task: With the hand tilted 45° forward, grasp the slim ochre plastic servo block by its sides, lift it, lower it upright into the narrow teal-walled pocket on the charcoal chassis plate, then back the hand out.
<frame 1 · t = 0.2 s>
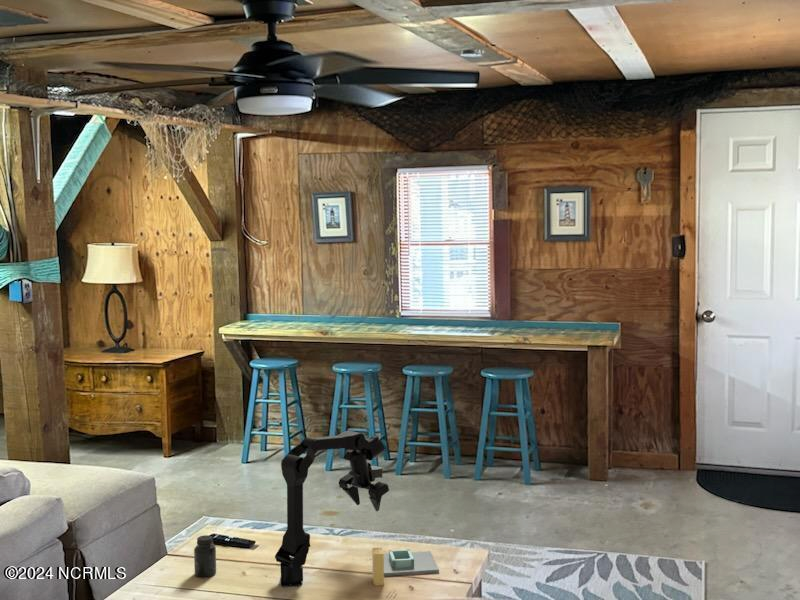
hand: (368, 507, 303), 15 cm above the table, tool pointing down, fingers open, 9 cm apart
supplement bottle: (205, 574, 287), on the table
servo block: (378, 581, 279), on the table
chassis plate: (401, 565, 292), on the table
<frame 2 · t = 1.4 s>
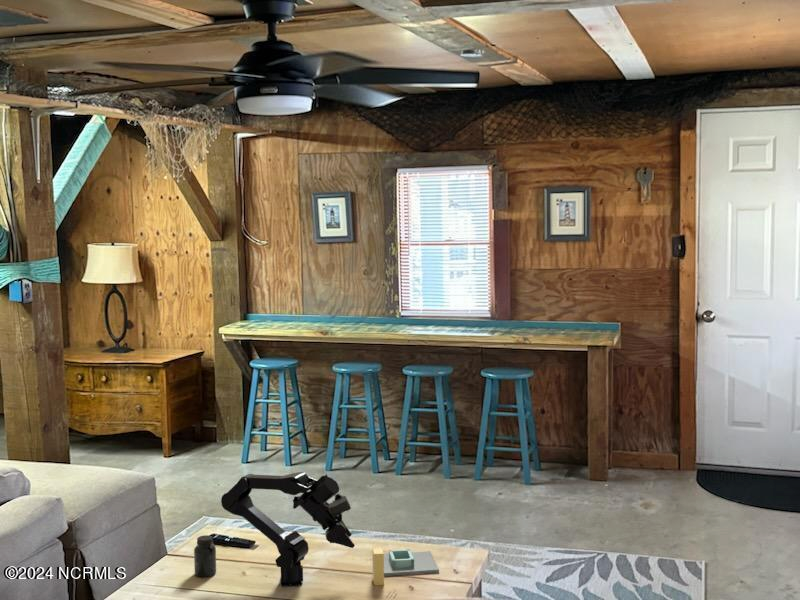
hand: (352, 541, 277), 13 cm above the table, tool tilted 45°, fingers open, 9 cm apart
nothing on the table moved.
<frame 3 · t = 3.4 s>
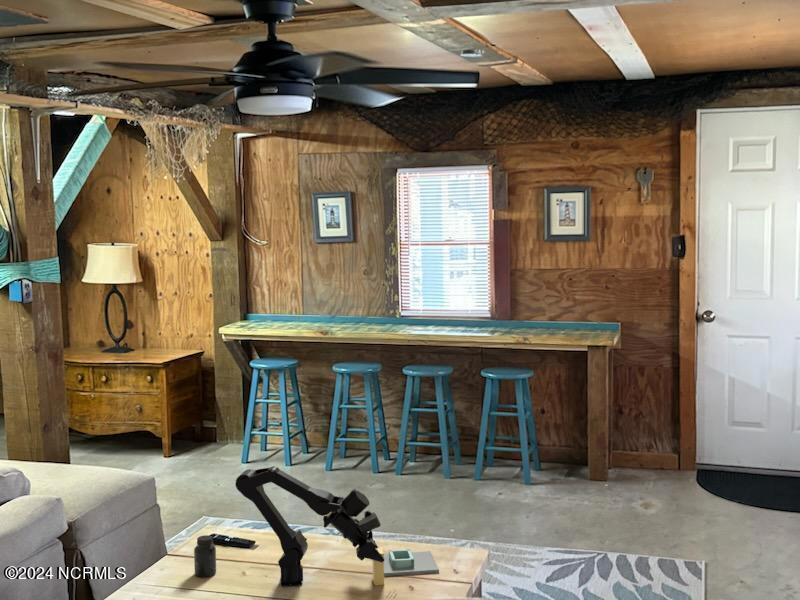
hand: (382, 557, 279), 8 cm above the table, tool tilted 45°, fingers closed on servo block, 5 cm apart
servo block: (378, 581, 279), on the table, touching gripper
everything else where it was.
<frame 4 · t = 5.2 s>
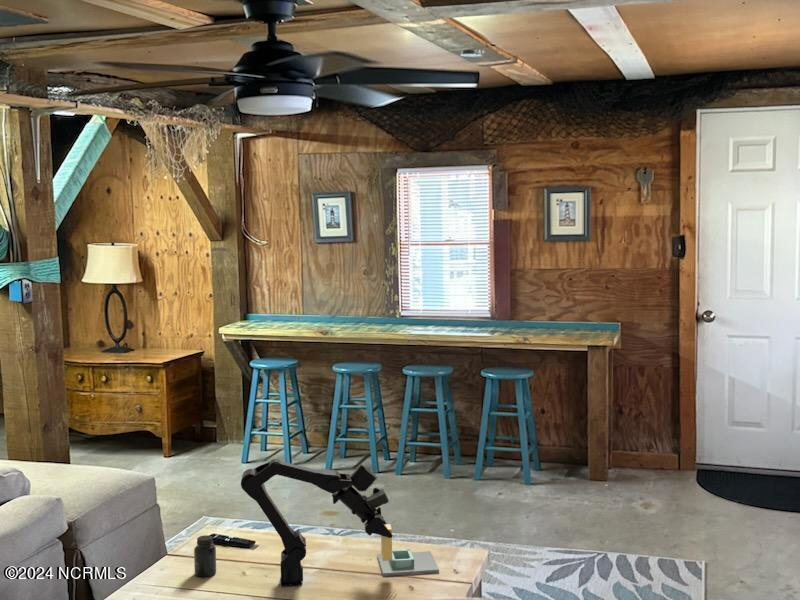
hand: (390, 533, 282), 14 cm above the table, tool tilted 45°, fingers closed on servo block, 5 cm apart
servo block: (386, 557, 283), point 6 cm above the table, touching gripper
everything else where it was.
when the fingers open (10 cm above the table, at t = 7.1 s): servo block drops 1 cm, resting on chassis plate.
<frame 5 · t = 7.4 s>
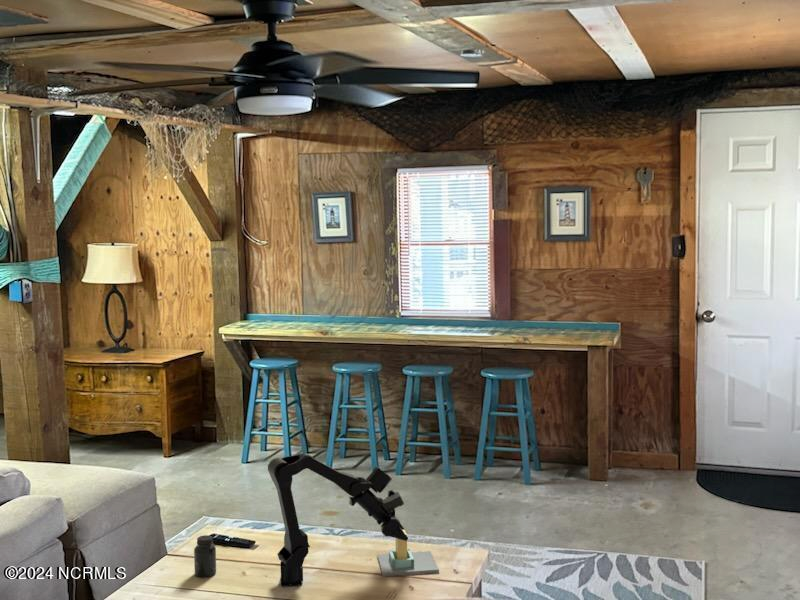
hand: (405, 535, 292), 10 cm above the table, tool tilted 45°, fingers open, 8 cm apart
servo block: (401, 562, 292), point 1 cm above the table, touching chassis plate
everything else where it was.
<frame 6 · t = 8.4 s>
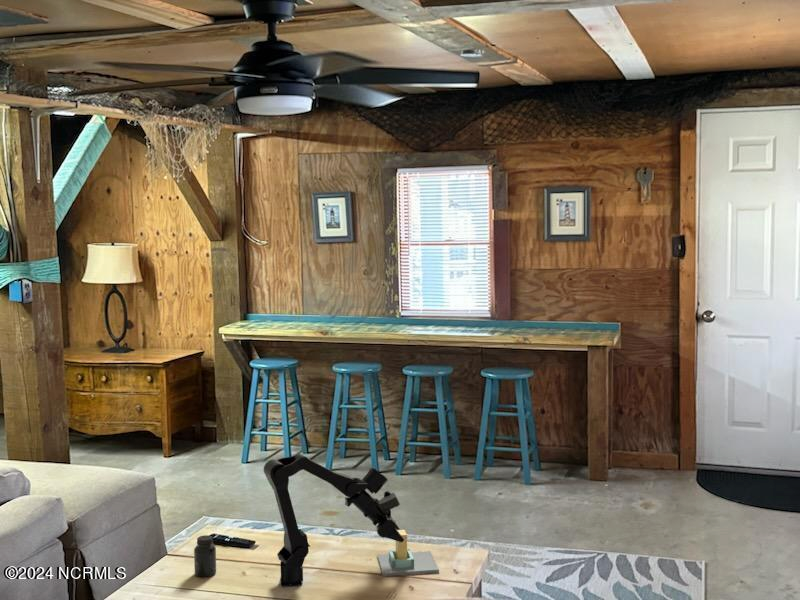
hand: (401, 536, 291), 10 cm above the table, tool tilted 45°, fingers open, 9 cm apart
nothing on the table moved.
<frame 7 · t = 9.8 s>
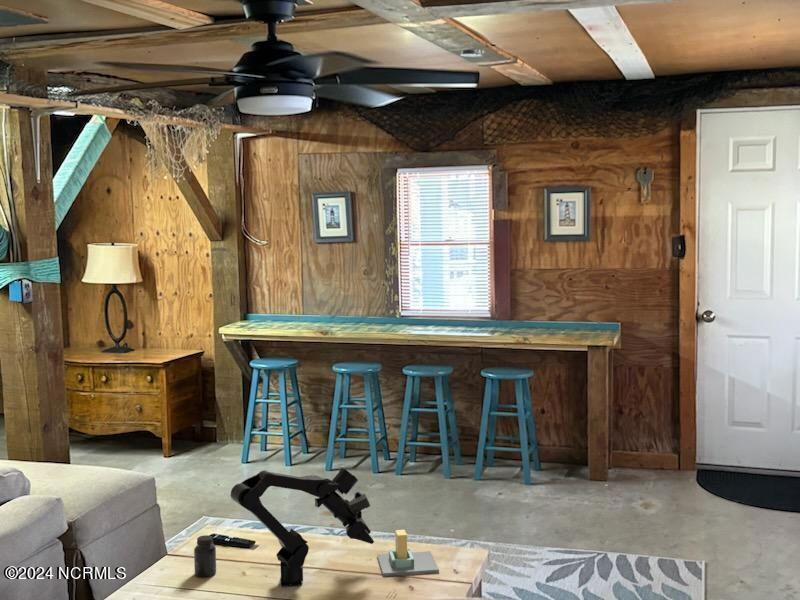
hand: (371, 537, 288), 11 cm above the table, tool tilted 45°, fingers open, 9 cm apart
nothing on the table moved.
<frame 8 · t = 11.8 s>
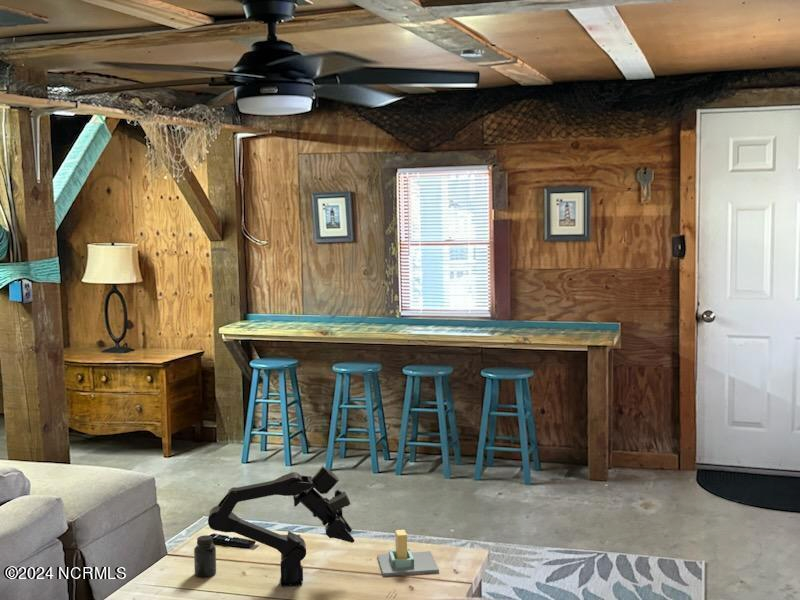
hand: (352, 536, 281), 14 cm above the table, tool tilted 45°, fingers open, 9 cm apart
nothing on the table moved.
at the end: servo block 0.0 cm off-centre on the chassis plate, point 1.0 cm above the chassis plate's base; servo block tilted 0°; the gripper is holding nothing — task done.
